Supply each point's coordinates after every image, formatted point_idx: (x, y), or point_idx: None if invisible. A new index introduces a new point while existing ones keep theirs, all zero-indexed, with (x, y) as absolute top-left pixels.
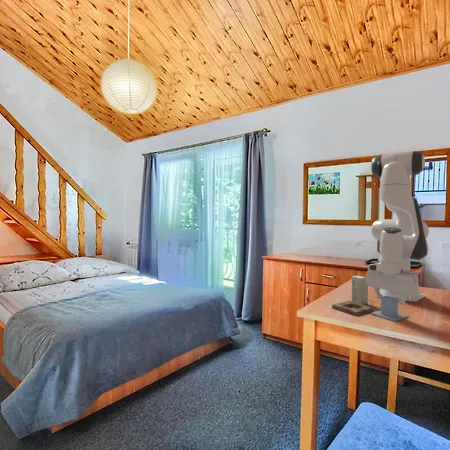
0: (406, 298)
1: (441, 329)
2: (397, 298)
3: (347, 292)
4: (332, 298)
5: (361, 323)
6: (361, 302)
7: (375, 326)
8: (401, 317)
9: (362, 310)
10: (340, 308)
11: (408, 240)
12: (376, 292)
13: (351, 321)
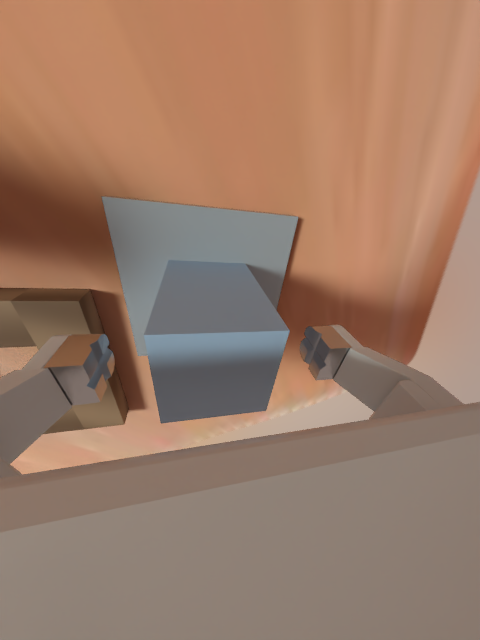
0: (387, 361)
1: (431, 273)
2: (284, 341)
3: None
4: None
5: (200, 431)
6: None
7: (241, 418)
8: (277, 291)
9: (111, 392)
10: None
11: None
12: (31, 434)
13: (171, 442)
